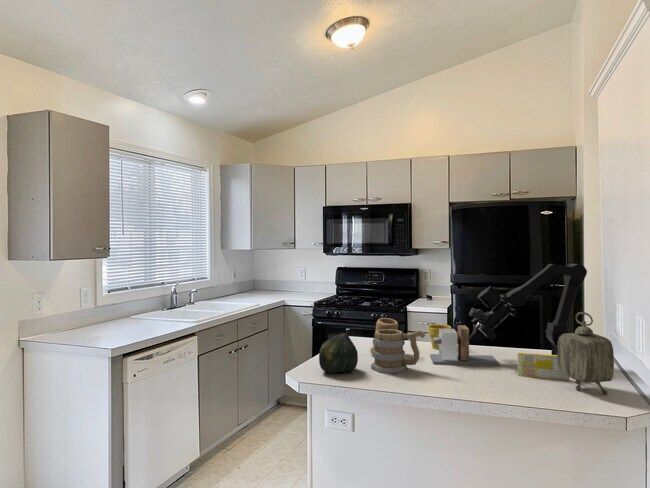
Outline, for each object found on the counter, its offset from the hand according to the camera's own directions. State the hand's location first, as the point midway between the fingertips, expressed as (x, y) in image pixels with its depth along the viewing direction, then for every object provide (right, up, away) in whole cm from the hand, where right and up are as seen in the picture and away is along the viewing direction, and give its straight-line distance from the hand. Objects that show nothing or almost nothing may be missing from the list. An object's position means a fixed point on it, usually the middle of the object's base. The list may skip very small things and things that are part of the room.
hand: (467, 342), depth 179 cm
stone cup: (-31, -8, +15) cm, 35 cm away
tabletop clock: (+26, -7, -36) cm, 45 cm away
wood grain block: (-7, -6, +1) cm, 9 cm away
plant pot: (-6, -8, +23) cm, 24 cm away
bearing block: (-8, -6, +1) cm, 10 cm away
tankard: (-30, -8, -10) cm, 32 cm away
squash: (-52, -8, -12) cm, 54 cm away
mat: (-2, -7, 0) cm, 8 cm away
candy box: (+19, -8, -22) cm, 30 cm away
